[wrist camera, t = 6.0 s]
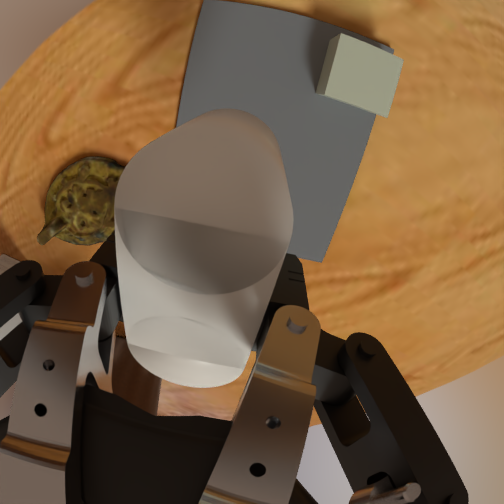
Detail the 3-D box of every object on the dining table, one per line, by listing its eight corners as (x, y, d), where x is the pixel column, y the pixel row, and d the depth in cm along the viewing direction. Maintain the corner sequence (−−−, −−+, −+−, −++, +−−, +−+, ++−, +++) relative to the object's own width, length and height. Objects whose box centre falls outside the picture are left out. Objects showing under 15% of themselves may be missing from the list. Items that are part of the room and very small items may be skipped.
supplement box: (2, 252, 31) (-45, 304, 20) (33, 266, 32) (-15, 327, 21) (11, 286, 35) (-27, 338, 24) (41, 301, 36) (3, 360, 25)
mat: (205, 1, 16) (204, -1, 15) (391, 50, 17) (394, 49, 17) (166, 227, 28) (164, 230, 27) (320, 259, 29) (321, 262, 29)
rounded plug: (183, 100, 9) (117, 119, 5) (293, 121, 9) (318, 155, 5) (163, 322, 15) (139, 398, 11) (233, 337, 16) (224, 417, 11)
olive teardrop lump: (119, 128, 23) (38, 197, 27) (93, 133, 19) (13, 211, 23) (162, 209, 27) (74, 259, 31) (143, 227, 23) (53, 279, 27)
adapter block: (329, 39, 17) (340, 33, 14) (385, 61, 18) (403, 59, 15) (315, 93, 20) (324, 94, 17) (371, 112, 20) (387, 118, 17)
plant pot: (186, 389, 45) (171, 471, 32) (109, 378, 46) (85, 448, 33) (160, 329, 36) (128, 437, 23) (71, 320, 37) (28, 403, 24)
